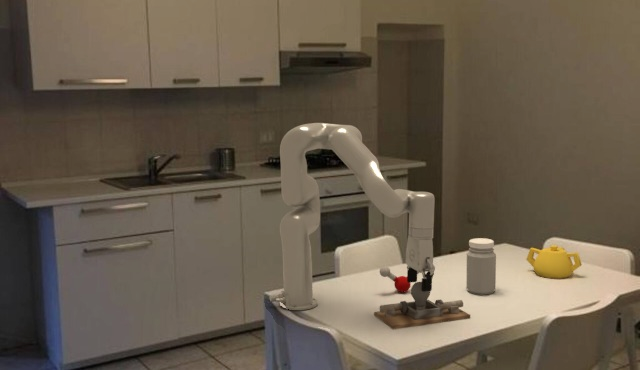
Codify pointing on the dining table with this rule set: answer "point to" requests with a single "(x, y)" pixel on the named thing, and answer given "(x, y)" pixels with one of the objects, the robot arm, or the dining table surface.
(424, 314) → the shaft bench
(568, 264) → the yellow sugar bowl
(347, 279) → the dining table surface
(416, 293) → the light bulb
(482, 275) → the jar
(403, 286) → the molecular model
